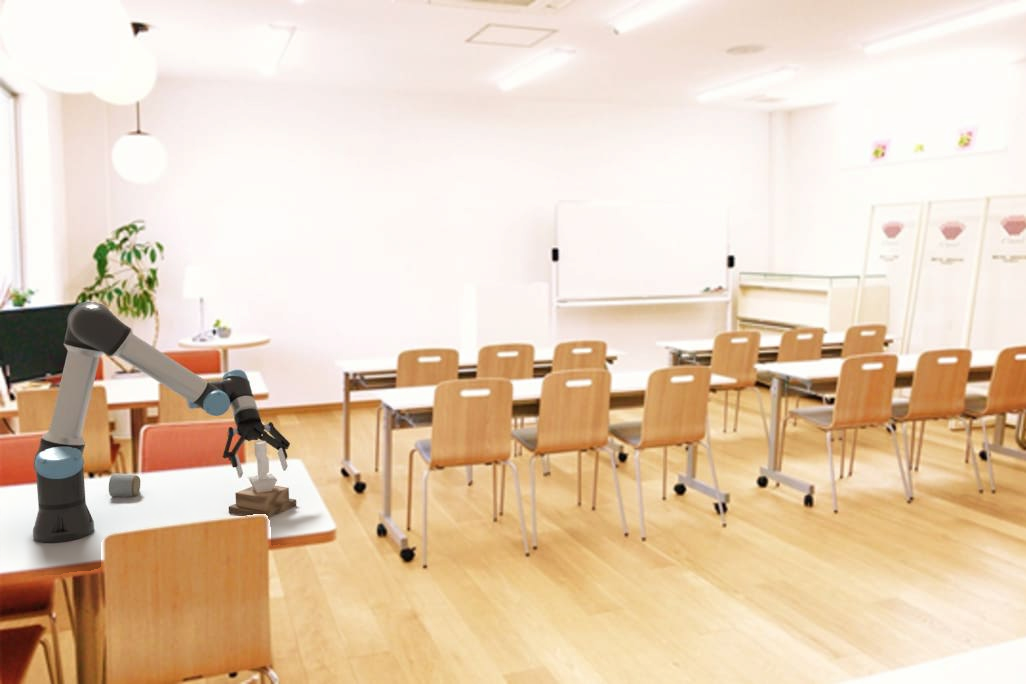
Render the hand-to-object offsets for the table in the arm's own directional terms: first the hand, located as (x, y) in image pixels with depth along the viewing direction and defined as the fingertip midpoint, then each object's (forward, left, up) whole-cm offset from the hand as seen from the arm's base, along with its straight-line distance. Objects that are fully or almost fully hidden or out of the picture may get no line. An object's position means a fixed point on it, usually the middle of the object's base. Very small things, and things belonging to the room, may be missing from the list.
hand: (263, 471), depth 258 cm
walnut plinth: (+1, +2, -12) cm, 12 cm away
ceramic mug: (-6, +51, -12) cm, 53 cm away
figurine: (+1, +2, -6) cm, 7 cm away
